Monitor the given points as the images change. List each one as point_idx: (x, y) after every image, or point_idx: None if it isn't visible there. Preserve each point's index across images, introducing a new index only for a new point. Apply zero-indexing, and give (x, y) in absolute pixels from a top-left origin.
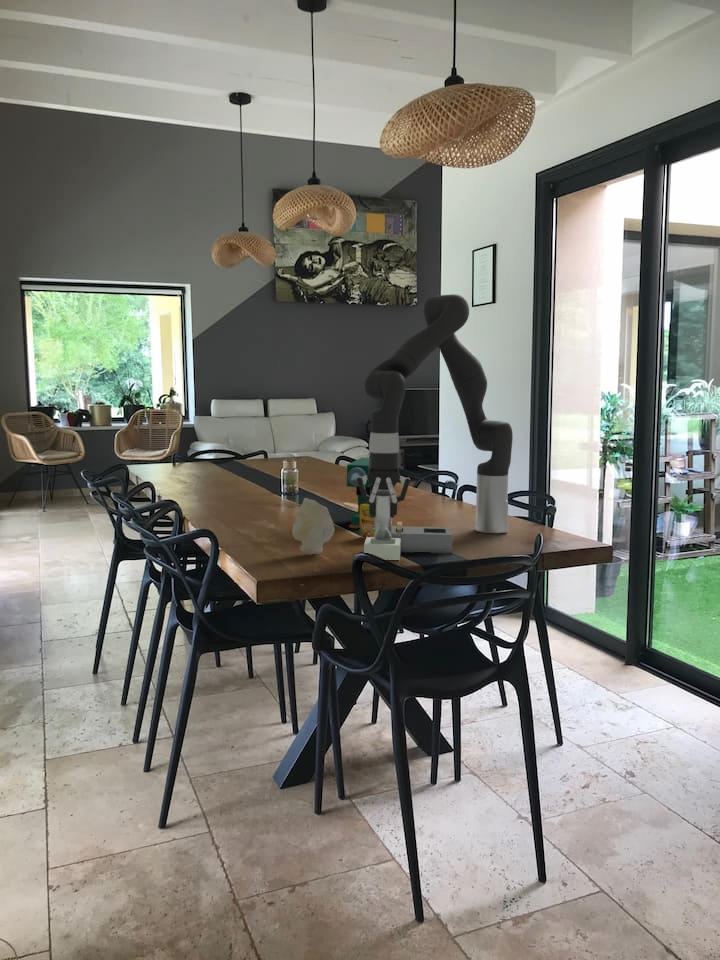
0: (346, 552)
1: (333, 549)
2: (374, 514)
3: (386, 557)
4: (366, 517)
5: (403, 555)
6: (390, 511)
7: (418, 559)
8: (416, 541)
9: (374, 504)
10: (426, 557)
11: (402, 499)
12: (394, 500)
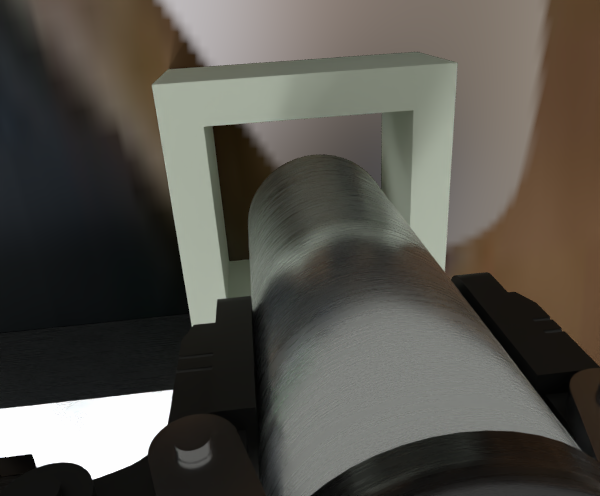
0: (526, 241)
1: (596, 296)
2: (463, 288)
3: (262, 64)
4: None
5: (172, 237)
6: (265, 330)
7: (47, 146)
8: (89, 365)
9: (527, 363)
10: (8, 214)
11: (30, 482)
12: (198, 444)
